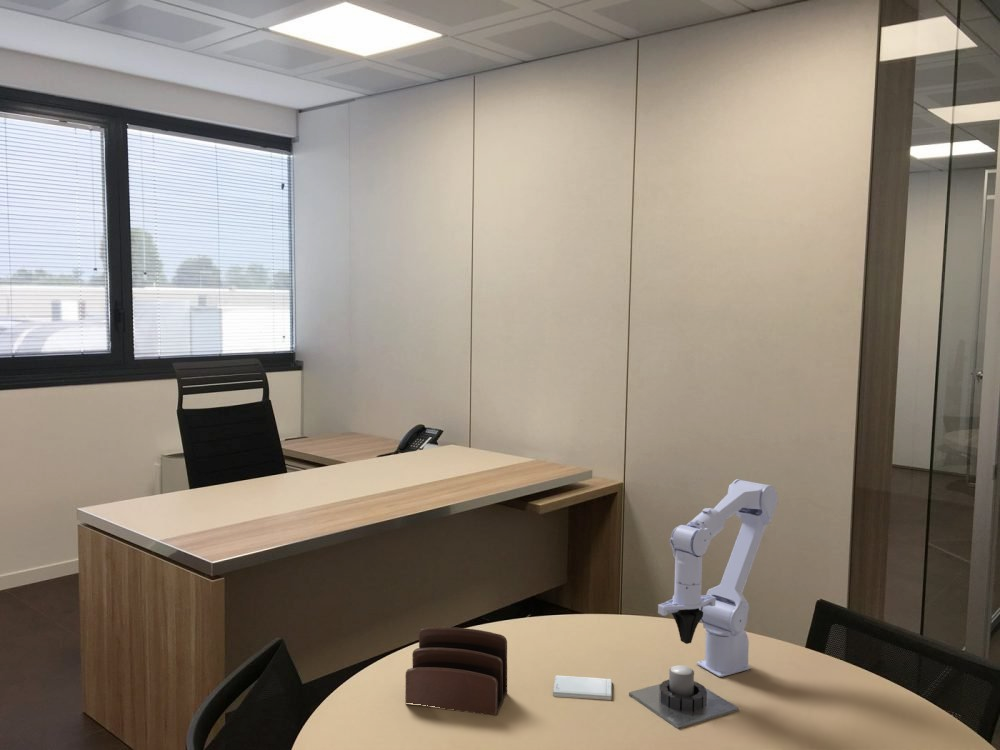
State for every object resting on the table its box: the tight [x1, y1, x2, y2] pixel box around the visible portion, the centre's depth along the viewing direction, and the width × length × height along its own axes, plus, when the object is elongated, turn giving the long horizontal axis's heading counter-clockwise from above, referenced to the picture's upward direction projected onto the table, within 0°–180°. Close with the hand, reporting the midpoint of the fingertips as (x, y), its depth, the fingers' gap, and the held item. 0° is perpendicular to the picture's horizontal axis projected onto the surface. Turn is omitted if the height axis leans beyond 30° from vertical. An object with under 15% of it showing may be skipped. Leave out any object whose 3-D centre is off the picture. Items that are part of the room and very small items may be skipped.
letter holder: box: [404, 626, 509, 716], centre depth 175 cm, size 10×20×14 cm, turn 77°
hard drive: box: [552, 675, 613, 701], centre depth 180 cm, size 2×8×12 cm
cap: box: [668, 664, 695, 696], centre depth 174 cm, size 5×5×6 cm
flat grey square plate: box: [628, 679, 740, 730], centre depth 174 cm, size 16×16×3 cm
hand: (685, 641), depth 181 cm, fingers closed
